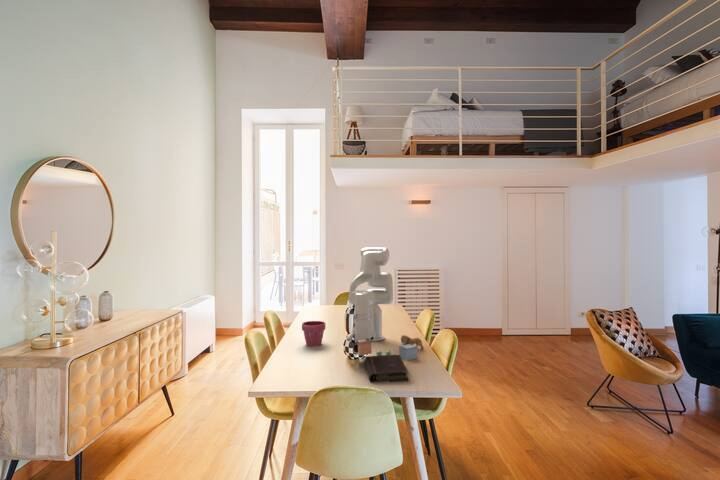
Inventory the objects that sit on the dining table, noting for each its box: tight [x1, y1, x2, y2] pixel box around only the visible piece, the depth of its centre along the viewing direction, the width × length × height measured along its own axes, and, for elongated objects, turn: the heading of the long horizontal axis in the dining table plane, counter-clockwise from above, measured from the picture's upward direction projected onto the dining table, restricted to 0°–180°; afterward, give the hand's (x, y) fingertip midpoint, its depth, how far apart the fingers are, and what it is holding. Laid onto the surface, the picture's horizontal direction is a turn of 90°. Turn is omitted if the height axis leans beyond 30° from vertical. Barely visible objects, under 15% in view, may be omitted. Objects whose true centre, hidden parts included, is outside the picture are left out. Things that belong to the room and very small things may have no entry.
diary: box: [364, 354, 410, 383], centre depth 186 cm, size 19×25×5 cm
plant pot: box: [301, 320, 326, 347], centre depth 235 cm, size 14×14×13 cm
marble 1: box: [376, 350, 383, 356], centre depth 211 cm, size 3×3×3 cm
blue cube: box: [398, 344, 419, 361], centre depth 208 cm, size 7×7×6 cm
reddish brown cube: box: [352, 339, 372, 356], centre depth 202 cm, size 7×7×6 cm
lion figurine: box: [400, 334, 424, 351], centre depth 222 cm, size 15×5×9 cm, turn 112°
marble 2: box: [385, 350, 392, 355], centre depth 211 cm, size 3×3×3 cm
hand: (362, 350), depth 202 cm, fingers closed on reddish brown cube, 7 cm apart
